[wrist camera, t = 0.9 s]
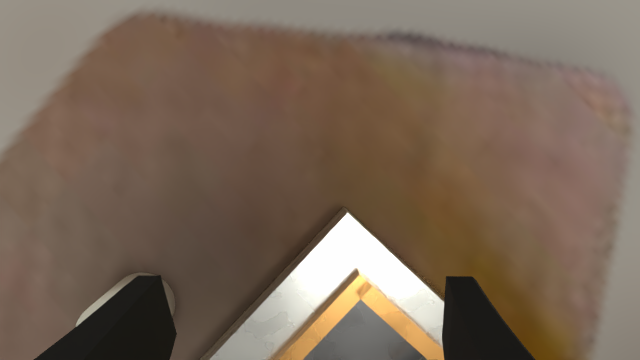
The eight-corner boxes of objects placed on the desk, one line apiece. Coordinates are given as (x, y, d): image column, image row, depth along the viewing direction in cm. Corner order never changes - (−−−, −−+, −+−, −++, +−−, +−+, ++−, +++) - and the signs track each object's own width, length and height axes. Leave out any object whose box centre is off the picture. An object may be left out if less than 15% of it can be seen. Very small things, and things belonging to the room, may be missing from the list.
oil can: (146, 347, 32) (108, 400, 25) (97, 305, 31) (46, 349, 25) (188, 301, 31) (160, 344, 25) (139, 259, 31) (99, 292, 25)
